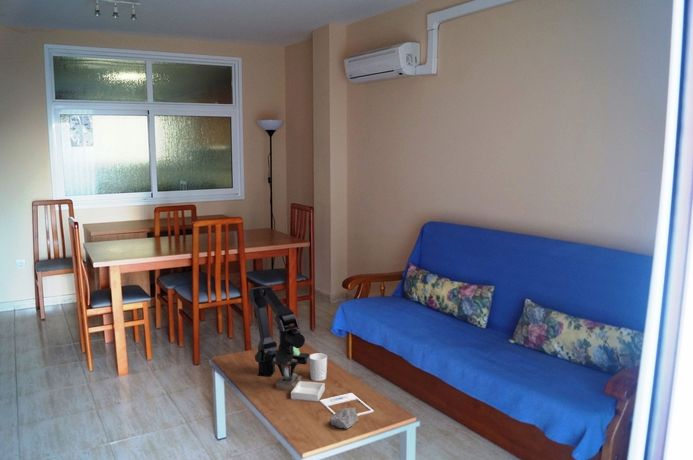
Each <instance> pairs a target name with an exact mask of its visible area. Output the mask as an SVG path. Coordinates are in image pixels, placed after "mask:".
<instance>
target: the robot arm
mask: <svg viewBox="0 0 693 460" xmlns="http://www.w3.org/2000/svg"><path fill="white" fill-rule="evenodd" d="M247 296H248V299H249V301H250V302H249V303H250V304H251V305H252V306H253V307H254V309H255V316H256V322H257V327H258V329H257V330H258V332H259V333H258V334H259V339H260V340H259V342H258V345H257V352H256V354H254V360H255V362H257V363H258V373H257V374H256V375H257V376H260V377H272V376H273V375H274V373H275V372H276V366H277V368H278V369H279V372H280V375H281V378H282V377H283V376H284V366H283V365H286V364H287V363H290V377H292V375H293V373H295V372H294V371H295V370H296V367H297V366H298V365H307V364H308V363H309V362H310V361H309V360H310V355H311V354H309V352H308V353H307V352H305V353H304V352H300V354H299V355H294V351H293V347H295V348H299V349H300V348H302V347H303V346H304V345H305V341H306V338H305V336H304V335H303V334H302V333H301V331H300V323H299V321H298V318H297V316H296V314H295V312H293V311H292V309H291V308H289V307H287V306H285V305H284V304H283V302H282V301H281V299H280V298H279V297H278V296H277V294H276V293H275V291H274V288H273V287H272V286H258V287H251V288H250V289H249V291H248V293H247ZM267 305H268V306H269V307H270V308H271V310H272V311H273V313H274V315H275V316H274V320H275V322H276V325H277V326H276V329H277V330H279V331H278V333H279V344H278V345H277V342H276V341H274V339H273V338H272V335H271V329H270V322H269V317H268V311H267Z"/></svg>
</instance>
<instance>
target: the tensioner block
mask: <svg viewBox="0 0 693 460" xmlns="http://www.w3.org/2000/svg"><path fill="white" fill-rule="evenodd" d="M302 379H303V377H302V375H298V374H297V373H295V372H293V375H292V377H290V382H288V381H284V376H283V377H282V376H281V378H280V379H279V380H278V381H277V383H275V387H276V388H275V389H276V391H285V392H286V391H287V392H292V390H293V389H294V387H295V386H296V385H297V383H298V382H299V381H303V380H302Z"/></svg>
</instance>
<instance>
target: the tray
mask: <svg viewBox="0 0 693 460" xmlns="http://www.w3.org/2000/svg"><path fill="white" fill-rule="evenodd" d="M325 385H326V383H324V382H316V381H315V382H314V381H303V380H302V381H299V382H298V383H297V385H296V386H295V387H294V389H293V390H292V391H290V400H293V401H294V400H295V401H302V402H303V401H305V402H315V403H318V402H320V400H321V399H320V398H322V396H323V394H324V392H325V390H326V386H325Z"/></svg>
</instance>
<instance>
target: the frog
mask: <svg viewBox="0 0 693 460" xmlns="http://www.w3.org/2000/svg"><path fill="white" fill-rule="evenodd" d="M293 351H294V355H299V354H300V353H301V352H300V348H295V347H293Z"/></svg>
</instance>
